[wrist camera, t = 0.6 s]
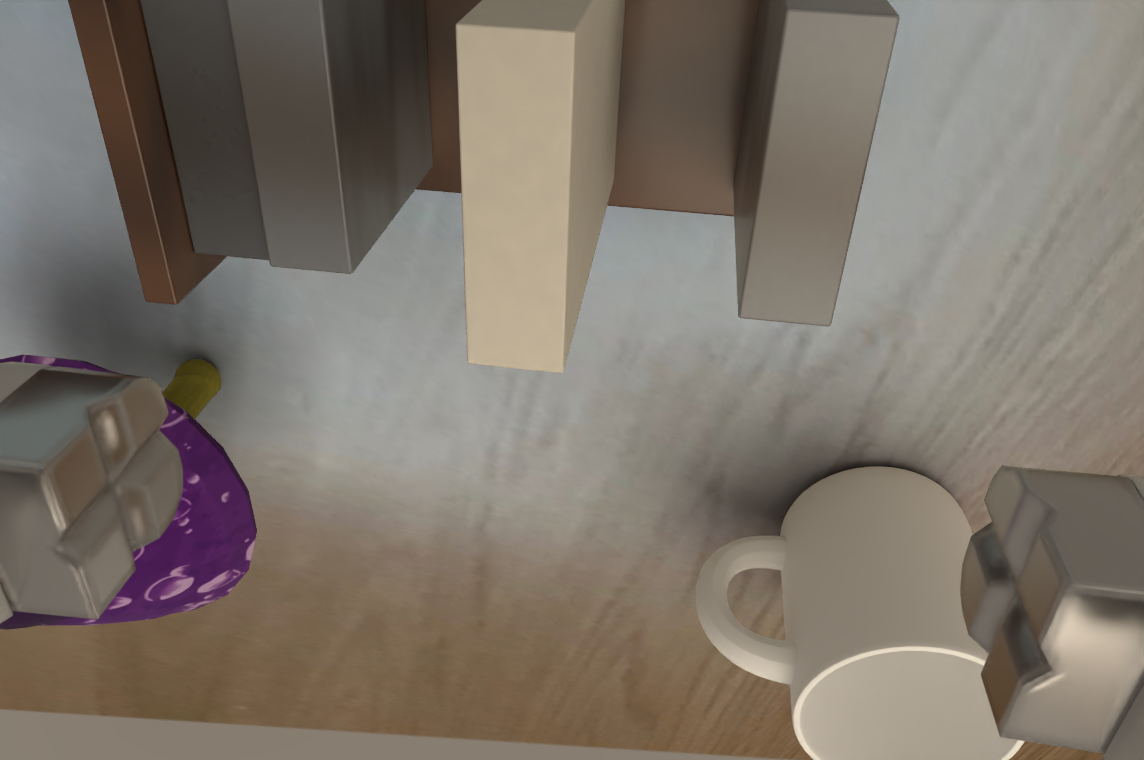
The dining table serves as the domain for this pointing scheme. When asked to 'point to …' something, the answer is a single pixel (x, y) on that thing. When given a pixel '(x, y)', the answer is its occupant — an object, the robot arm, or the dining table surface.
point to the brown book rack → (431, 128)
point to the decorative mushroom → (179, 515)
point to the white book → (534, 169)
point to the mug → (866, 621)
